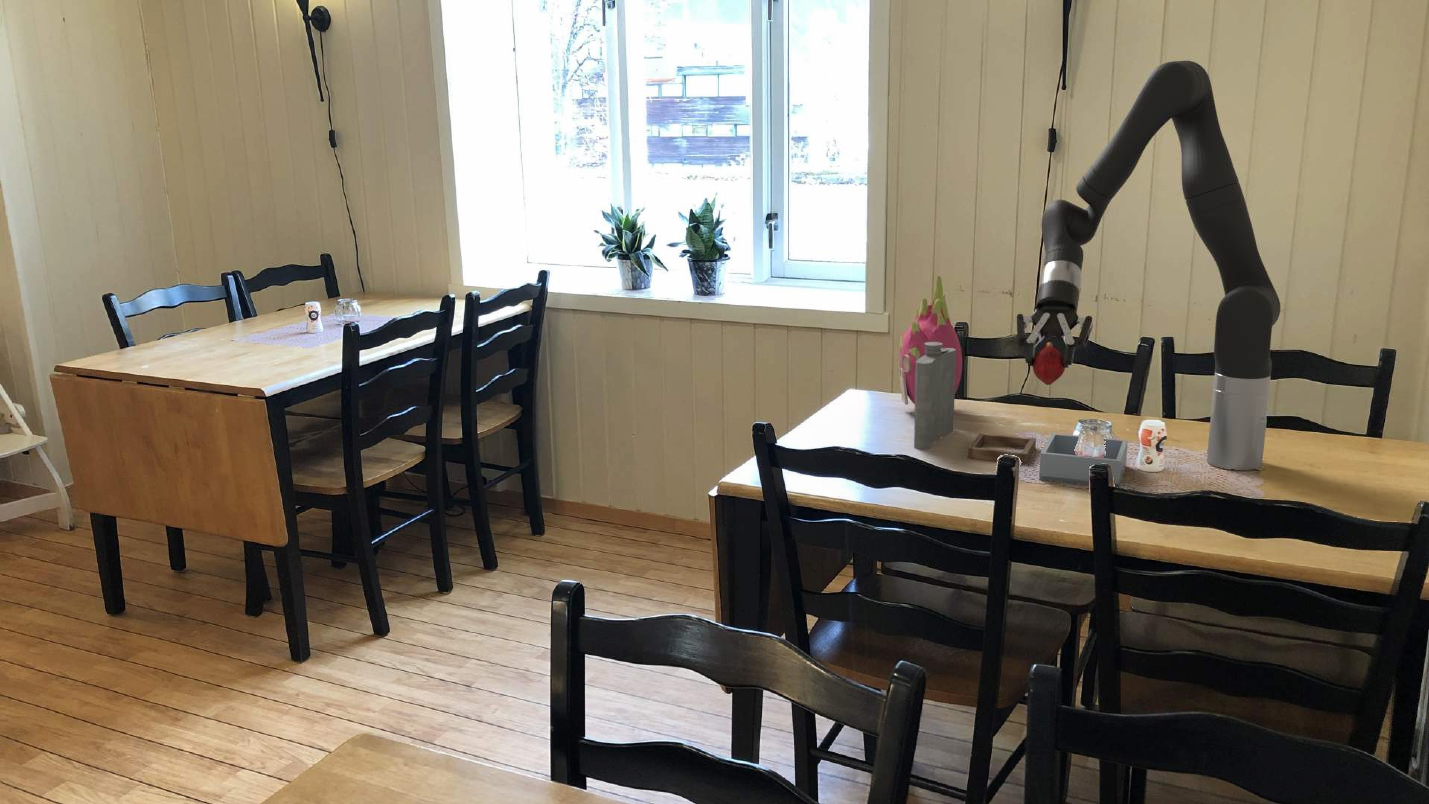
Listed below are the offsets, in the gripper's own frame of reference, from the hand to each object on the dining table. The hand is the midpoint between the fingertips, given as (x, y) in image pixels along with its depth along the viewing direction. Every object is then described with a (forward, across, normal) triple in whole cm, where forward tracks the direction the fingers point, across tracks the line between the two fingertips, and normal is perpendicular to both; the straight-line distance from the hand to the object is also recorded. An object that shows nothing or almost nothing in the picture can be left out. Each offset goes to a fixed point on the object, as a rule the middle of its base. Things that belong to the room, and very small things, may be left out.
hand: (1047, 364), depth 201 cm
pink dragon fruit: (-9, -30, +35) cm, 47 cm away
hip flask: (+6, -24, +21) cm, 32 cm away
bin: (+15, +7, +13) cm, 21 cm away
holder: (+10, -9, +17) cm, 22 cm away
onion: (+2, 0, +4) cm, 5 cm away
